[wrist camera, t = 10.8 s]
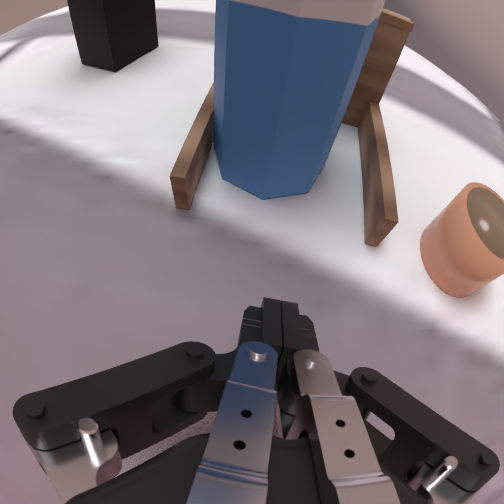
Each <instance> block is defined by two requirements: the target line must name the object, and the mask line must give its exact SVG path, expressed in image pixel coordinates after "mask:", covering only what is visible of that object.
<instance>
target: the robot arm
mask: <svg viewBox="0 0 504 504" xmlns="http://www.w3.org/2000/svg"><path fill="white" fill-rule="evenodd" d="M314 330H315V329H314V325H313V322H312V321H311V320H310V319H309V317H308V316H305V315H299V309H298V304H297V303H293V302H287V301H282V300H281V301H280V300H276V299H271V298H266V297H264V298H263V301H262V305H261V308H259V307H254V306H249V307H248V308H247V309H246V310H245V311H244V315H243V320H242V325H241V330H240V335H239V340H238V346H237V348H236V349H235V350H234V351H232V352H230V353H226V354H215V352H214V351H213V349H212V348H210V347H209V346H207V345H205V344H203V343H200V342H192V341H190V342H184V343H180V344H178V345H175V346H173V347H170V348H167V349H164V350H162V351H159V352H156V353H154V354H151V355H148V356H145V357H142V358H140V359H137V360H134V361H131V362H128V363H125V364H122V365H120V366H117V367H114V368H111V369H108V370H105V371H102V372H99V373H96V374H93V375H89V376H86V377H83V378H80V379H77V380H74V381H71V382H67V383H64V384H61V385H57V386H54V387H51V388H47V389H44V390H41V391H37V392H34V393H30V394H27V395H24V396H22V397H21V398H20V399H18V400H17V402H16V403H15V405H14V407H13V417H14V420H15V422H16V424H17V426H18V428H19V429H20V431H21V433H22V435H23V437H24V439H25V441H26V442H27V444H28V446H29V448H30V449H31V451H32V453H33V454H34V456H35V458H36V459H37V461H38V463H39V464H40V466H41V467H42V469H43V471H44V472H45V473H46V475H47V476H48V477H49V479H50V481H51V483H52V484H53V486H54V488H55V490H56V491H57V493H58V495H59V497H60V498H61V500H62V502H63V503H64V504H469V503H470V502H471V500H472V498H473V496H474V495H475V494H476V493H477V492H478V491H479V490H480V489H482V487H483V486H484V485H485V484H486V483H487V482H488V481H489V480H490V479H491V478H492V477H493V476H494V475H495V474H496V473H497V472H498V470H499V467H500V464H499V459H498V457H497V456H496V454H495V453H494V452H493V451H492V450H491V449H489V448H488V447H486V446H485V445H483V444H482V443H480V442H479V441H477V440H476V439H474V438H473V437H471V436H470V435H468V434H467V433H465V432H464V431H462V430H461V429H459V428H458V427H456V426H455V425H453V424H452V423H450V422H449V421H448V420H446V419H445V418H443V417H442V416H440V415H439V414H437V413H436V412H434V411H433V410H432V409H430V408H429V407H427V406H426V405H424V404H423V403H422V402H420V401H419V400H417V399H416V398H414V397H413V396H411V395H410V394H409V393H407V392H406V391H404V390H403V389H402V388H400V387H399V386H397V385H396V384H394V383H393V382H392V381H390V380H389V379H387V378H386V377H385V376H383V375H382V374H380V373H379V372H377V371H376V370H373V369H371V368H366V367H359V368H356V369H354V370H353V371H352V373H351V375H350V376H348V375H345V374H342V373H339V372H336V371H334V370H333V368H332V365H331V362H330V360H329V359H328V358H327V357H326V356H325V355H323V354H322V353H320V352H319V348H318V343H317V338H316V334H315V331H314ZM276 396H277V402H278V404H277V406H276ZM275 406H276V418H277V428H278V437H275V436H272V432H273V423H274V415H275ZM211 411H217V415H216V418H215V421H214V424H213V427H212V430H211V433H206V434H201V435H196V436H193V437H190V438H188V439H185V440H183V441H181V442H179V443H177V444H176V445H174V446H172V447H170V448H169V449H167V450H165V451H164V452H162V453H160V454H158V455H157V456H155V457H153V458H151V459H149V460H147V461H146V462H144V463H142V464H140V465H138V466H136V467H134V468H133V469H131V470H129V471H127V472H125V473H123V474H121V475H119V476H117V475H118V474H119V472H120V471H121V468H122V459H124V458H127V457H129V456H131V455H133V454H135V453H137V452H140V451H142V450H144V449H146V448H148V447H150V446H152V445H154V444H156V443H158V442H160V441H162V440H164V439H166V438H168V437H170V436H172V435H174V434H175V433H177V432H179V431H181V430H183V429H185V428H187V427H188V426H190V425H192V424H194V423H196V422H198V421H199V420H201V419H203V418H204V417H205V416H206V414H207V412H211ZM370 412H372V413H374V414H375V415H376V416H377V417H379V418H380V419H381V420H383V421H384V422H385V423H387V424H388V425H389V426H390V427H392V428H393V430H394V432H395V438H394V439H393V440H390V439H389V438H388V437H386V436H385V435H384V434H383V433H381V432H380V431H379V430H377V429H376V428H375V427H374V426H372V425H371V424H370V423H369V422H367V421H366V419H367V417H368V416H369V414H370ZM115 476H117V477H115ZM114 477H115V478H114ZM112 478H113V479H112Z"/></svg>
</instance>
